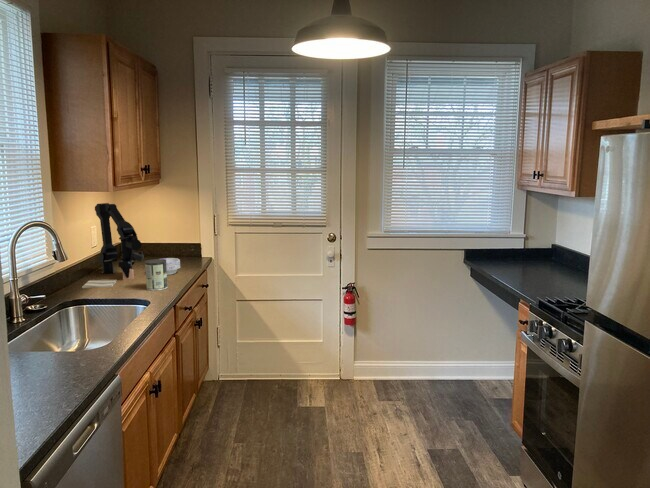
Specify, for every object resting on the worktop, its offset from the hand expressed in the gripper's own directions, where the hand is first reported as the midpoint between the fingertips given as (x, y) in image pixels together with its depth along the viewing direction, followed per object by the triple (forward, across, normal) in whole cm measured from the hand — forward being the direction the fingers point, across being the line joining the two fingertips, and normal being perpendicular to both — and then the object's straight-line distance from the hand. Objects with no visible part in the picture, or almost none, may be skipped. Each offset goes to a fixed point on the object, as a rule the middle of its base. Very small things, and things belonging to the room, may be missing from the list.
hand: (128, 276), depth 282 cm
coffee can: (+1, -25, -18) cm, 31 cm away
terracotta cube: (+1, 0, 0) cm, 1 cm away
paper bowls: (+1, +9, -19) cm, 21 cm away
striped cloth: (+1, -12, +12) cm, 17 cm away
